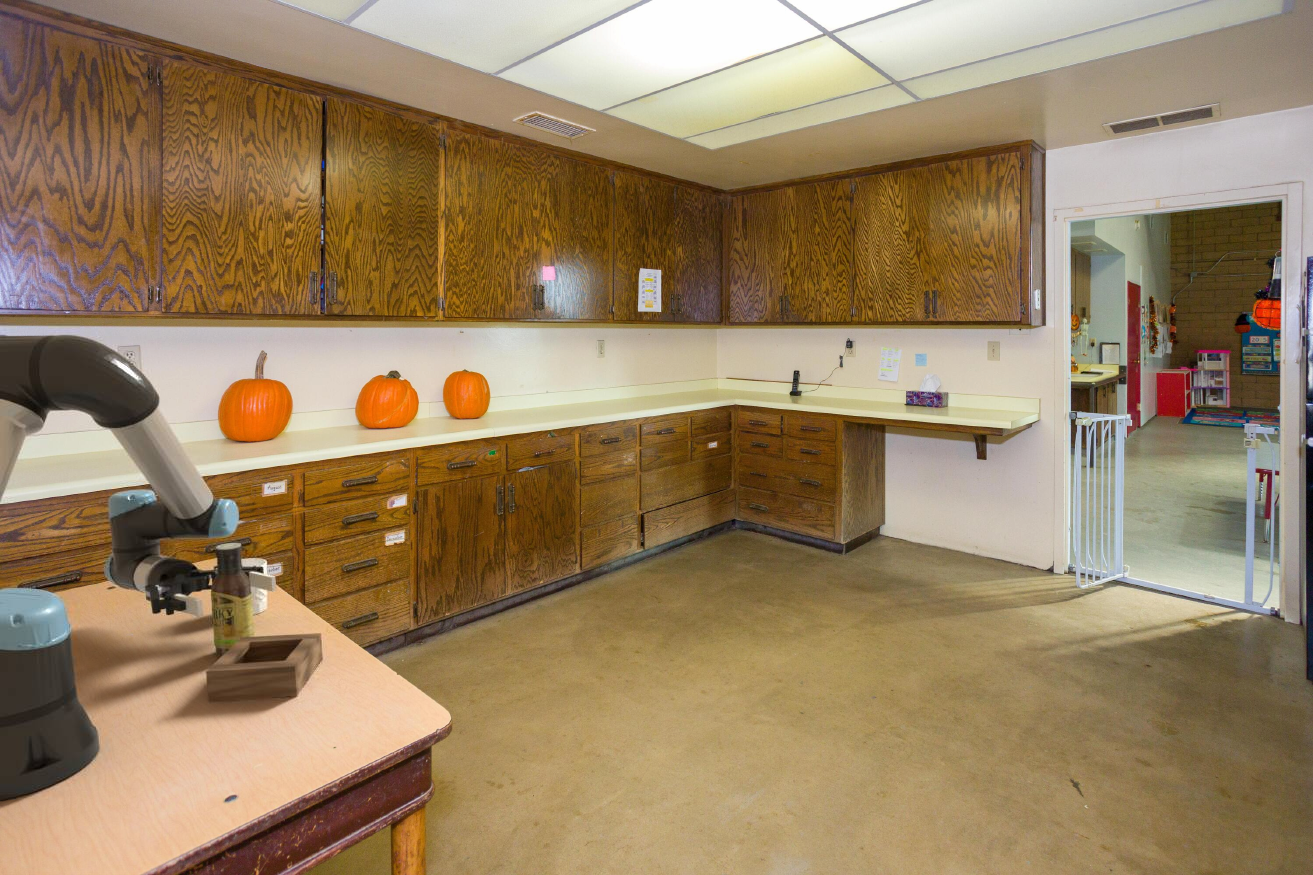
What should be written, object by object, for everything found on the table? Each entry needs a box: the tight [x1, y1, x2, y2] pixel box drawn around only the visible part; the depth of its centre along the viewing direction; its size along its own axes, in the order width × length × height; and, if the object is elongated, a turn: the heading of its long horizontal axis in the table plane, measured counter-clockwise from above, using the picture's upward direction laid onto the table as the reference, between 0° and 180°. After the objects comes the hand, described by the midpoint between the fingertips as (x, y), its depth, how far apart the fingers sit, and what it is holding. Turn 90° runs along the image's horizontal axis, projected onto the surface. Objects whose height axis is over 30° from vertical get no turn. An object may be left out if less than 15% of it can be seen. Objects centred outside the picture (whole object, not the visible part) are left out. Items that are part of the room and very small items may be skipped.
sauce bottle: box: [210, 542, 255, 658], centre depth 130 cm, size 6×6×20 cm
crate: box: [205, 632, 324, 703], centre depth 121 cm, size 13×13×5 cm
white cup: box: [241, 557, 268, 616], centre depth 151 cm, size 8×8×10 cm
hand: (238, 595), depth 129 cm, fingers open, 13 cm apart
